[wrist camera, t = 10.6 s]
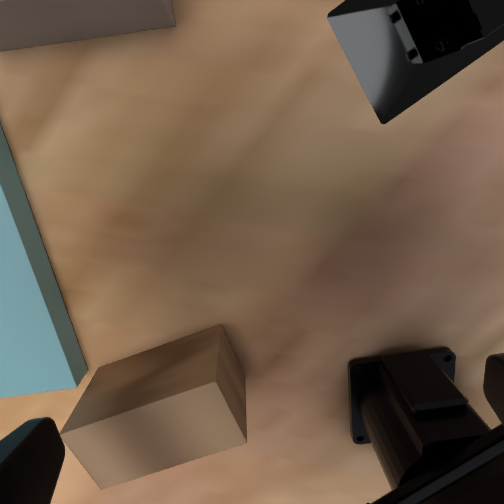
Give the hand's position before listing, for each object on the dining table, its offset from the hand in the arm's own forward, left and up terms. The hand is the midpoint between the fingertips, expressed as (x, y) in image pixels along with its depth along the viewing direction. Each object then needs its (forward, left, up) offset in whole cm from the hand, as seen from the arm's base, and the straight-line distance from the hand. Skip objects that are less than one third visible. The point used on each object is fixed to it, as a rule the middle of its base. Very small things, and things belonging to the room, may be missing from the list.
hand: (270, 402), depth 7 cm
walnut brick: (-8, +6, -12) cm, 16 cm away
